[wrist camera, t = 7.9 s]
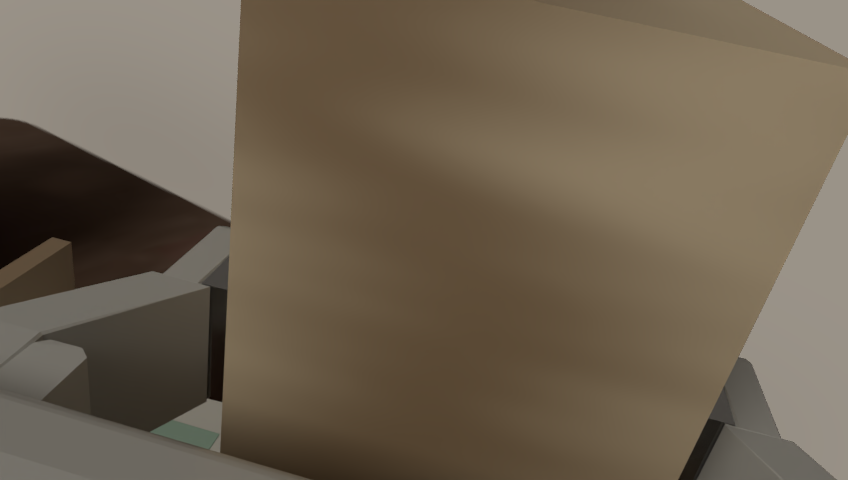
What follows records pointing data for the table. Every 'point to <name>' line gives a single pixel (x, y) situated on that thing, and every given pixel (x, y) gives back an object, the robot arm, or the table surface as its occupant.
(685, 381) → the beech block
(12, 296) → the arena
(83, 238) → the table surface
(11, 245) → the table surface
